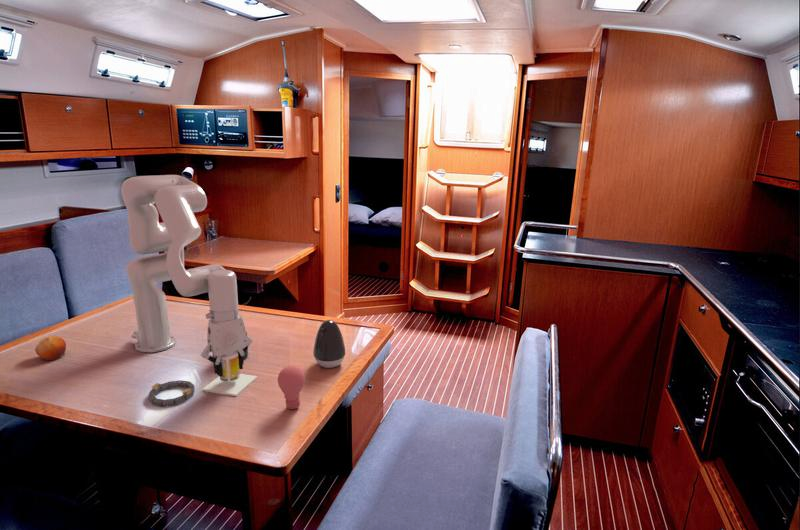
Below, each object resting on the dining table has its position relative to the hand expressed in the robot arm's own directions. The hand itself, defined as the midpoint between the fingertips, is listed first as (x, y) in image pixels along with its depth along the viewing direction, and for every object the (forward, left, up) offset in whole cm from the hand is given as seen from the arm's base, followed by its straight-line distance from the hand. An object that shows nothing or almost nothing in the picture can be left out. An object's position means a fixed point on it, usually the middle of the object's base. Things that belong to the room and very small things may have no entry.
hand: (229, 370), depth 137 cm
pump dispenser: (+23, +20, -5) cm, 31 cm away
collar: (-12, -10, -4) cm, 16 cm away
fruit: (-65, -1, -5) cm, 65 cm away
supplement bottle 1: (0, 0, -3) cm, 3 cm away
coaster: (0, 0, -4) cm, 4 cm away
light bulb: (+23, -6, -5) cm, 24 cm away
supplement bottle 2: (-8, +16, -5) cm, 18 cm away
